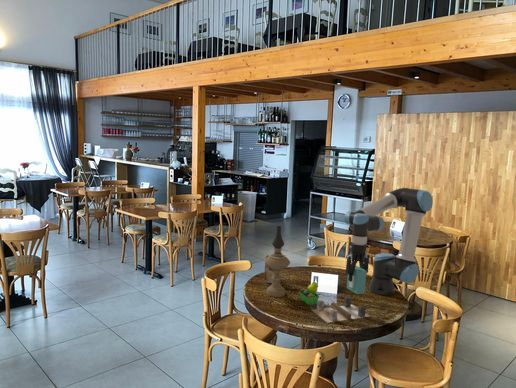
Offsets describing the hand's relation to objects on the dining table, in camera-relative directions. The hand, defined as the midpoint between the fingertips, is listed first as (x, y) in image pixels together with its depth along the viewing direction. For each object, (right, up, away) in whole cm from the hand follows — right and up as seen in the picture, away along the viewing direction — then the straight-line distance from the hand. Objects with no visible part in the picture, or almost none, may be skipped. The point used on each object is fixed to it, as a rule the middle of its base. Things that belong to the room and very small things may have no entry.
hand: (355, 286), depth 215 cm
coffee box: (-43, -7, +44) cm, 61 cm away
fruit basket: (-23, -12, +13) cm, 29 cm away
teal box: (0, -2, 0) cm, 2 cm away
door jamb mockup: (-8, -14, -1) cm, 16 cm away
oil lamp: (-41, -10, +24) cm, 49 cm away
